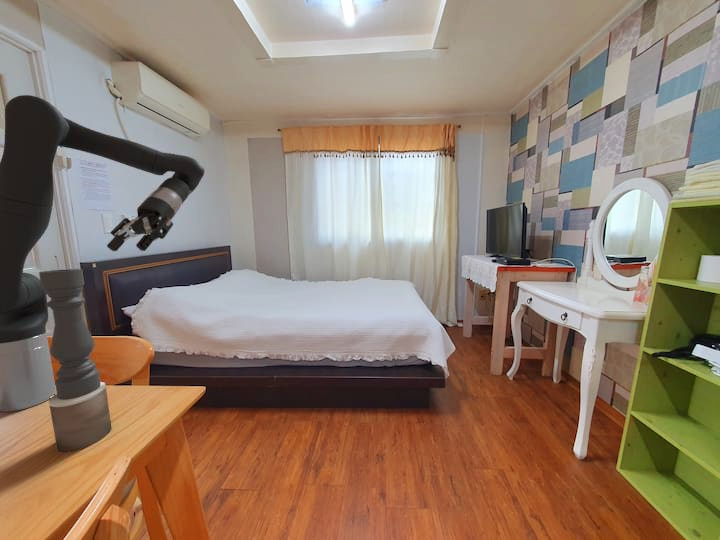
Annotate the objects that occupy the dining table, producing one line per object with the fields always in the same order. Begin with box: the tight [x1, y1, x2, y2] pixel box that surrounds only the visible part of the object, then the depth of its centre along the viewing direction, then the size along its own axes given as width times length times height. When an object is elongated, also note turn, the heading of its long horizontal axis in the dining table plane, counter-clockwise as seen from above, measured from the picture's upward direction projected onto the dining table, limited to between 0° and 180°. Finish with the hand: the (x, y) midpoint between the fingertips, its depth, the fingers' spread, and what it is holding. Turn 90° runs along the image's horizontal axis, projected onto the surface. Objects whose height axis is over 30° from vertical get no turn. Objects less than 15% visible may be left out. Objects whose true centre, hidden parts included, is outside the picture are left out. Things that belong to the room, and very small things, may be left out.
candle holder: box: [38, 268, 101, 400], centre depth 54 cm, size 6×6×25 cm
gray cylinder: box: [48, 381, 112, 453], centre depth 56 cm, size 8×8×10 cm
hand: (125, 248), depth 67 cm, fingers open, 8 cm apart
